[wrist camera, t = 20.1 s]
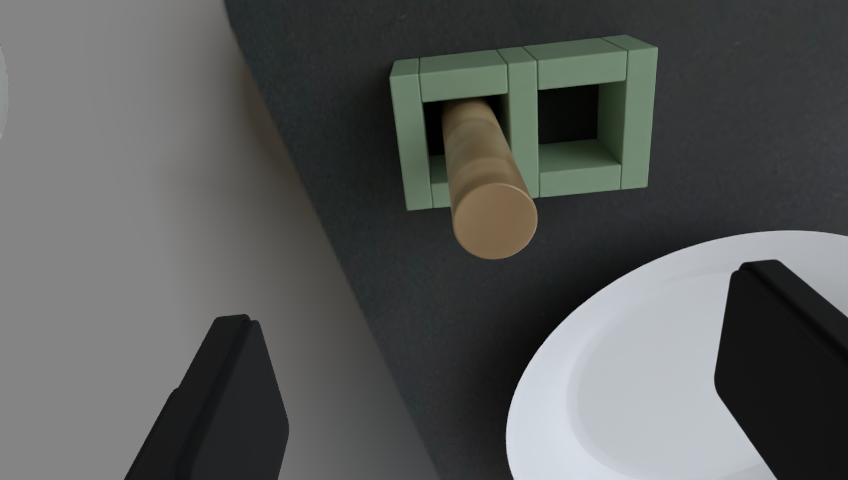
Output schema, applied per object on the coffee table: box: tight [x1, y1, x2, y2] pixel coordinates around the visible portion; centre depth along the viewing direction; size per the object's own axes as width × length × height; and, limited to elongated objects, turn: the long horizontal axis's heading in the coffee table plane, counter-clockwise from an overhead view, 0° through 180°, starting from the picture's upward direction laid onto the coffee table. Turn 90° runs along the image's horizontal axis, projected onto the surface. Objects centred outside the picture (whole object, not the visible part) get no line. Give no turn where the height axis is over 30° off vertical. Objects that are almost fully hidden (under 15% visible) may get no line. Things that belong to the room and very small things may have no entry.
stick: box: [440, 96, 538, 259], centre depth 22 cm, size 2×2×13 cm
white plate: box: [506, 231, 848, 480], centre depth 34 cm, size 25×25×4 cm
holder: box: [389, 35, 658, 210], centre depth 26 cm, size 11×6×4 cm, turn 96°
